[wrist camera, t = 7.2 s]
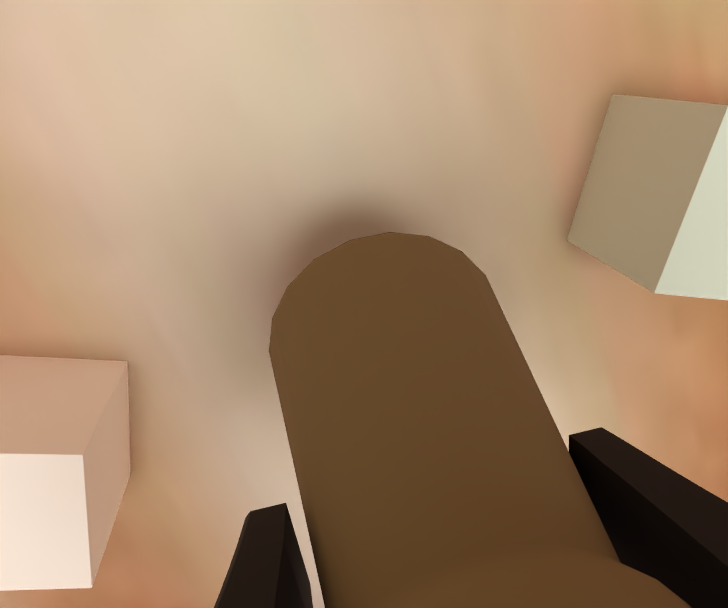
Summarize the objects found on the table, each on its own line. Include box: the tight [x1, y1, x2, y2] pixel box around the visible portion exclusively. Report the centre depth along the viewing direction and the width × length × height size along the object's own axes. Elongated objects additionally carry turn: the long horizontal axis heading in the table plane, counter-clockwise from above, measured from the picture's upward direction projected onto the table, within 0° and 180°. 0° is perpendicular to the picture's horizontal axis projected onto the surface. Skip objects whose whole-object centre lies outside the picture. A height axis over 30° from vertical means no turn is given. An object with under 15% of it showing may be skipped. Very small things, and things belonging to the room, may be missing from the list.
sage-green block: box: [567, 94, 728, 300], centre depth 17 cm, size 5×5×5 cm
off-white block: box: [0, 355, 131, 591], centre depth 17 cm, size 5×5×5 cm
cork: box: [269, 232, 692, 608], centre depth 9 cm, size 6×6×11 cm
